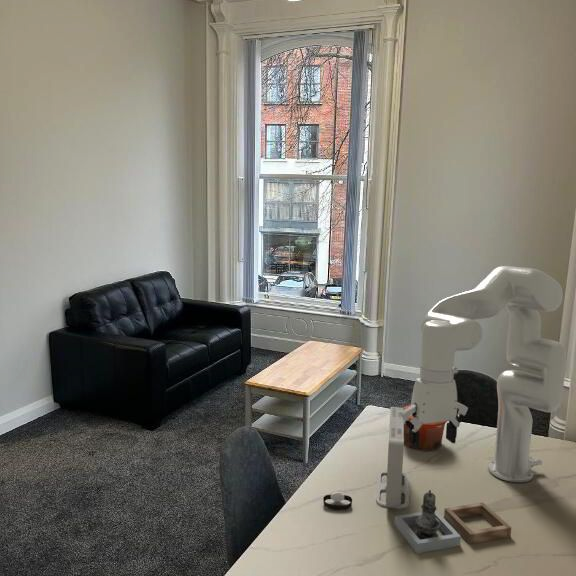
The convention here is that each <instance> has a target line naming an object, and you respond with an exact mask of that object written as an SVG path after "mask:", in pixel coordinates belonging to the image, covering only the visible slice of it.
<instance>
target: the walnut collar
mask: <svg viewBox="0 0 576 576" xmlns="http://www.w3.org/2000/svg"><path fill="white" fill-rule="evenodd" d="M443 513H444V514H443V518H444V519H445V520H446V521H447V522H448V523H449V524H450V525H451V526H452V527H453V528H454V529H455V531H456V532H457V533H458V534H459V535H460V536H461V537H462V538H463V539H464V540H465V541H466V542H468V543H469V544H468V545H473V544H477V543H478V544H479V543H483V542H488V541H489V542H490V541H494V540H500V539H506V538H511V537H512V536H511V535H512V526H511V525H509V524H508V523H507V522H506V521H505V519H502V518H501V517H500V516H499V515H498V514H497V513H496V512H495V511H493V510H492V509H491V508H490V507H489V506H488V505H487V504H485V502H475V503H471V504H465V505H458V506H451V507H447V508H446V507H445V508H444V512H443ZM479 515H481V516H482V517H484V519H486V520H487V521H488V522H489V523H490V524H491V525H492V527H487V528H481V529H475V530H472V529H471V528H470V527H469V526H468V525H467V524H466V523H465V522H464V521H463V520H462V519H461V518H466V517H473V516H479Z"/></svg>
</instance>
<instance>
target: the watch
mask: <svg viewBox="0 0 576 576" xmlns="http://www.w3.org/2000/svg"><path fill="white" fill-rule="evenodd" d="M322 500H323V505H324V507H326V508H327V509H329V510H334V511H346V510H349V509H350V508H351V507H352V506H353V498H352V497H351V496H349V495H346V494H343V493H342V492H340V491H334V492H333V493H332V494H325V495H324V496H323V499H322ZM327 500H332V501H334V502H336V503H338V502H339V503H340V502H342V501H348V502H350V503H348V504H344V505H343V504H341V505H339V504H331V503H328V502H326V501H327Z"/></svg>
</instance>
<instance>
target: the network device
mask: <svg viewBox="0 0 576 576" xmlns="http://www.w3.org/2000/svg"><path fill="white" fill-rule="evenodd" d="M402 411H403V407H396V406H390V409H389V412H390V413H389V431H388V445H387V447H388V452H387V468H386V469H387V470H382V471H379V472H378V473H377V480H376V491H375V503H376V504H377V505H379V506H381V507H384V508H391V509H398V510H399V509H401V510H402V509H406V508H407V507H409V504H410V503H409V502H410V500H409V497H410V495H409V476H408V475H407V474H405V472H403V468H404V466H403V464H404V448H405V447H404V446H405V444H404V423H403V420H402V418H401V416H400V413H401V412H402ZM383 475H386V483H383V482H382V476H383ZM403 479H404V485H402V484H403ZM381 492H386V493H385V494H386V495H385V501H381V500H380V498H381V497H380V496H381V495H380V494H381ZM402 494H403V495H404V503H402Z"/></svg>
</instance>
